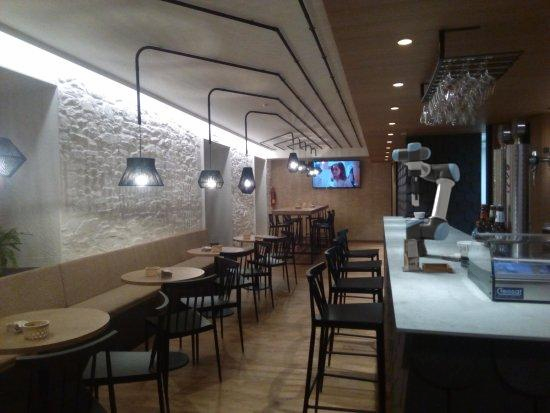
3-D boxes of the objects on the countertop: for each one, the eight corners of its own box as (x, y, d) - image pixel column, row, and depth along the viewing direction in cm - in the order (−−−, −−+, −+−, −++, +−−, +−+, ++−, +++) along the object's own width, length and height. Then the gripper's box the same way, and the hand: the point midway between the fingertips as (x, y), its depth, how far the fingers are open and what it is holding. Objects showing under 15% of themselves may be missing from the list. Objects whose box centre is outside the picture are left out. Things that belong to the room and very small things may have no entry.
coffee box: (420, 270, 232) (419, 240, 232) (408, 270, 233) (407, 241, 232) (415, 267, 241) (414, 238, 241) (403, 267, 242) (403, 238, 241)
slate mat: (401, 267, 244) (401, 266, 244) (420, 267, 242) (420, 266, 241) (402, 271, 232) (402, 270, 232) (422, 272, 230) (422, 271, 230)
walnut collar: (421, 267, 242) (421, 263, 242) (448, 267, 239) (448, 263, 239) (424, 272, 229) (424, 267, 229) (452, 273, 225) (452, 268, 225)
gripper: (406, 170, 265) (407, 204, 266) (409, 169, 241) (410, 206, 242) (419, 169, 264) (419, 203, 265) (423, 168, 239) (424, 206, 240)
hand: (415, 205), depth 253 cm, fingers open, 13 cm apart
